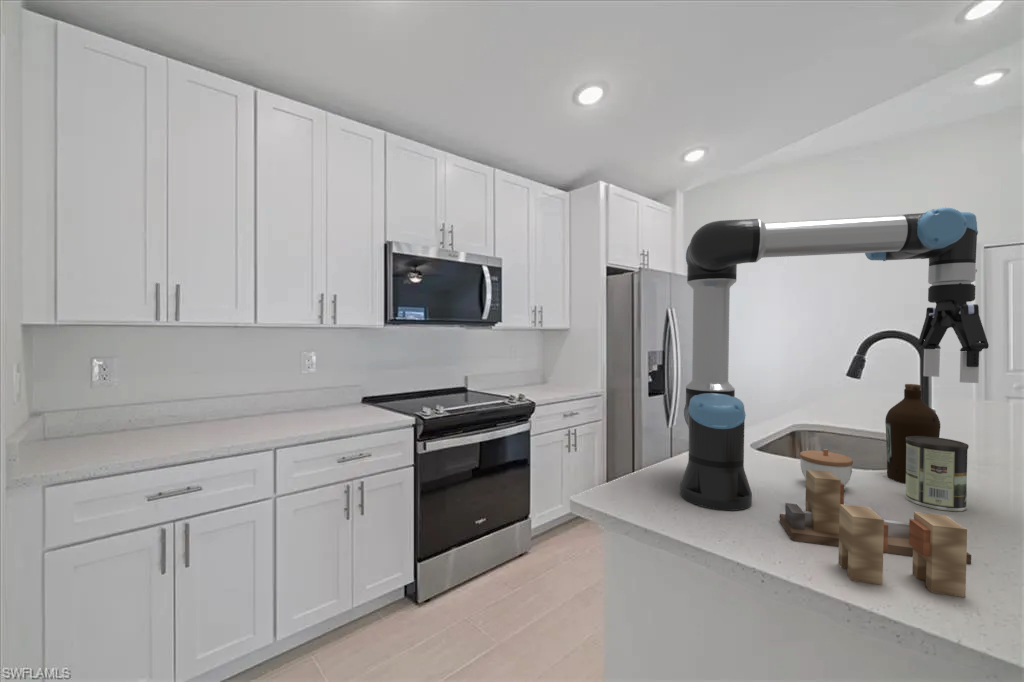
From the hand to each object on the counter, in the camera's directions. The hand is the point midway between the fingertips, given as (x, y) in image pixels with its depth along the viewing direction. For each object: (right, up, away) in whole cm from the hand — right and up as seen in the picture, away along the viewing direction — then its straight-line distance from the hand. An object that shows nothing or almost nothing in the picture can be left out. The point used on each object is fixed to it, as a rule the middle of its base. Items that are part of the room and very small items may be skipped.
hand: (948, 379), depth 100 cm
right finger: (-33, -29, -32) cm, 54 cm away
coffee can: (-2, -28, +1) cm, 28 cm away
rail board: (-33, -28, -17) cm, 47 cm away
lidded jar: (-20, -28, +11) cm, 36 cm away
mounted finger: (-39, -27, -16) cm, 50 cm away
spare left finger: (-43, -29, -29) cm, 59 cm away
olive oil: (+6, -28, +16) cm, 33 cm away
